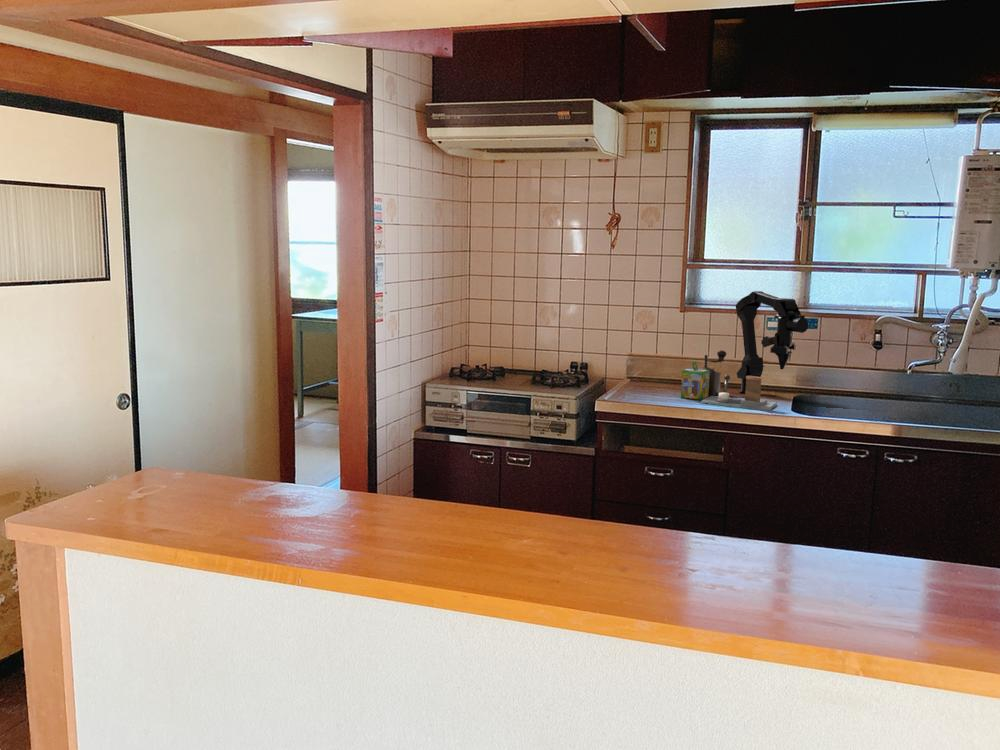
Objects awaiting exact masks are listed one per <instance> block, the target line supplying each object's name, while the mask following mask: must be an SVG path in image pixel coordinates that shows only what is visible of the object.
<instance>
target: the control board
mask: <svg viewBox="0 0 1000 750" xmlns="http://www.w3.org/2000/svg"><path fill="white" fill-rule="evenodd" d="M703 403H708V404H707V405H712V404H715V405H714V406H721V405H723V407H730V406H731V407H733V408H739V407H742V408H743V409H749V408H751V409H750V410H758V411H766V412H767V411H768V412H769V411H771V410H772V409H773V408H775V407H776V406H777V405H778V402H775V401H774V402H773V401H768V399H763V400H760V403H759V402H755V401H746V400H745V398H738V397H730V393H729V392H726V393H724V392H723V391H722V392H721V391H720V393H719V394H718V395H716V396H710V397H708V398H705V399H703V400H700V404H703ZM742 408H741V409H742Z"/></svg>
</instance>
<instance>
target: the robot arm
mask: <svg viewBox="0 0 1000 750" xmlns="http://www.w3.org/2000/svg"><path fill="white" fill-rule="evenodd" d="M762 304H763V305H766V306H769V307H771V308H772V309H773V310H774V311H775V312H776V313H777V314H776V315H774V316H773V317H774V319H777V326H776V332H775V333H774V335H773V336H772V337H769V336H768V335H767V336H764V337H762V340H760V341H761V343H760V344H761V345H762V347H763V349H764V348H767V347H769V346H770V349H769V350H770V352H769V353H773V354H775V356H776V357H777V359H778V364H779V368H780V370H784V369H785V367H786V365H787V363H788V361H789V359H790V358H791V356H792V354H793V351H795V350H796V349H797V348H796V347H797V344H796V343H795V342H792V339H793V338H792V336H793V337H794V333H800V334H801V333H802V334H803V333H806V331H808V330H809V329H808V328H809V323H808V320H807V318H805V317H806V316H805V314H804V315H803V314H802V313H801V311H800V309H799V306H798V304H797V301H796V299H794V298H780V297H777V296H775V295H771V294H768V293H766V292H764V291H761V290H759V291H757V290H754V291H751V292H750V293H749V294H748V295H745V296H744V297H742V298H740V300H738V301H737V303H736V304H735V310H736V311H735V312H736V315H737V318H738V319H739V320H740V322H741V328H742V329H741V330H742V339H743V350H744V356H743V358H742V361H741V367H740V368H739V370H737V372H736V378H737V379H741V387H740V390H738V393H739V392H744V393H743V394H745V391H746V377H747V376H754V377H762V375H763V372H764V367H765V366H764V358H763V357H760V356H759V355H758V350H757V349H758V348H757V341H756V340H757V339H756V330H755V329H756V328H755V318H756V317H757V314H758V309H759V308H760V307H761V306H762ZM793 332H794V333H793ZM790 350H792V351H790Z"/></svg>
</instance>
